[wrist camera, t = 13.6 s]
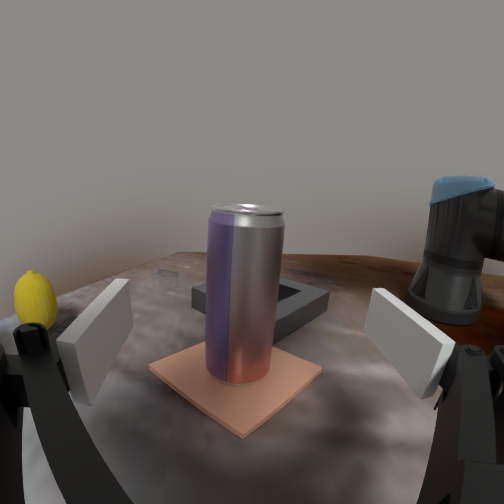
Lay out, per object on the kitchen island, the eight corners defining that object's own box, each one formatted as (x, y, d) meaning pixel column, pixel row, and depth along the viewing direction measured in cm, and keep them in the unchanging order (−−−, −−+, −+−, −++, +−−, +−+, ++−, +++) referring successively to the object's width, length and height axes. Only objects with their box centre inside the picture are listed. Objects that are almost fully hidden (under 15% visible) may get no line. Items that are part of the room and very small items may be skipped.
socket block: (254, 286, 52) (255, 269, 51) (326, 309, 43) (329, 291, 43) (191, 307, 41) (191, 287, 41) (271, 345, 33) (274, 321, 32)
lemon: (63, 322, 31) (54, 262, 30) (60, 344, 27) (48, 276, 25) (25, 325, 29) (14, 264, 27) (18, 346, 24) (3, 279, 22)
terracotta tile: (233, 332, 35) (233, 328, 35) (321, 372, 28) (322, 367, 28) (149, 369, 26) (148, 364, 26) (243, 439, 19) (243, 434, 18)
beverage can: (194, 378, 25) (195, 205, 21) (220, 348, 30) (226, 201, 27) (258, 395, 23) (276, 213, 20) (275, 360, 29) (292, 208, 25)
